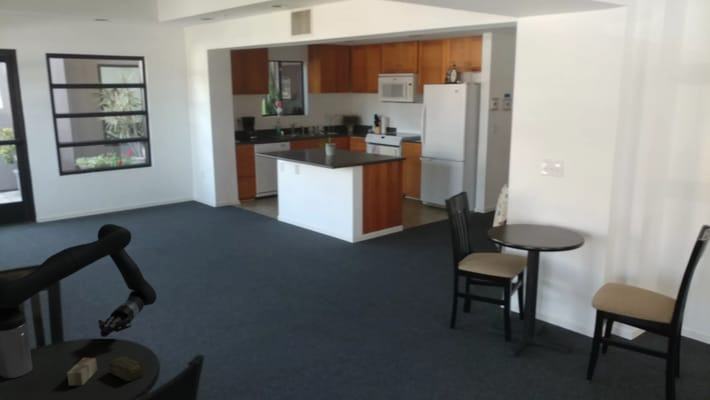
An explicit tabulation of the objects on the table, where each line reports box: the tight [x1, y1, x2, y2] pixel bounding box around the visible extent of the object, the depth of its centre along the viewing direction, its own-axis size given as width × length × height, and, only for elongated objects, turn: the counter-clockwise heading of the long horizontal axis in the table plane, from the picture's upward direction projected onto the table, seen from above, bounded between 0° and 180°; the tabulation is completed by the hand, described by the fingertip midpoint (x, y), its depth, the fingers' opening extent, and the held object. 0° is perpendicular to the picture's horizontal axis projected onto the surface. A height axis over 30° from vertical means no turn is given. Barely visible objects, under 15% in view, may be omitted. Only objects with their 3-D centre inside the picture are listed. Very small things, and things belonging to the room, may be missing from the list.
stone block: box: [109, 355, 144, 382], centre depth 187 cm, size 6×12×5 cm, turn 57°
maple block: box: [66, 357, 98, 386], centre depth 186 cm, size 4×4×10 cm
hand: (103, 334), depth 199 cm, fingers closed
